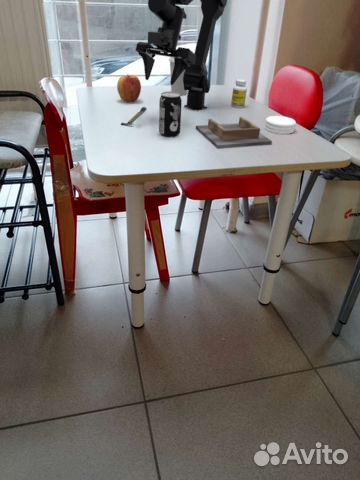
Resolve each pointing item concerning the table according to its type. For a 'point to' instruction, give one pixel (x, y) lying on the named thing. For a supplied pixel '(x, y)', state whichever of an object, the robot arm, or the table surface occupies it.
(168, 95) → the beverage can
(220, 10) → the robot arm
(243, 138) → the loading bay
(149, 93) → the table surface
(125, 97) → the apple
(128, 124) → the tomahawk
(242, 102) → the supplement bottle
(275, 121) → the white ridged disc
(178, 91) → the coffee cup
